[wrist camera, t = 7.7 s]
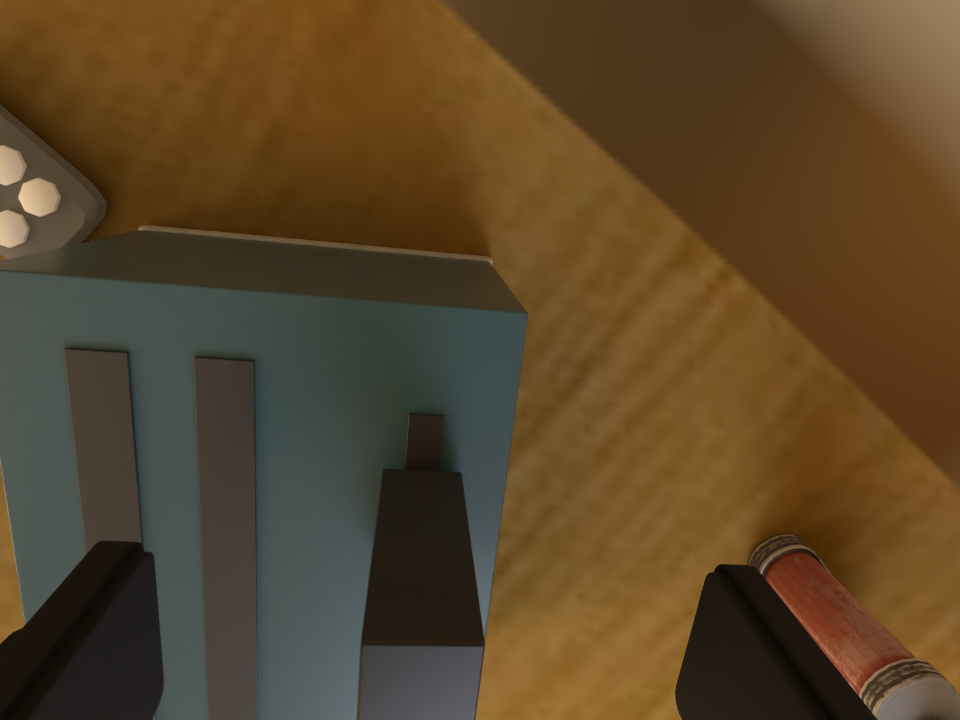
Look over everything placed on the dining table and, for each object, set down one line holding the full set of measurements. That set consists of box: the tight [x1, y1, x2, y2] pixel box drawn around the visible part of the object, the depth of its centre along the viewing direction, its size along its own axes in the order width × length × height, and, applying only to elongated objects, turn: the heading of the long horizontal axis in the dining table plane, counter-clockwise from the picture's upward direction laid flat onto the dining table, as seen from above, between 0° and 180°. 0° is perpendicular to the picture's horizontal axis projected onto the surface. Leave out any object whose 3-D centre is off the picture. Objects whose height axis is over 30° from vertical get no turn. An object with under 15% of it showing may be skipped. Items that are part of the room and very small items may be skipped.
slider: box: [356, 469, 485, 720], centre depth 11 cm, size 2×3×5 cm
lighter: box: [749, 534, 960, 720], centre depth 22 cm, size 8×3×10 cm, turn 28°
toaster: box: [0, 225, 528, 720], centre depth 18 cm, size 11×16×8 cm
